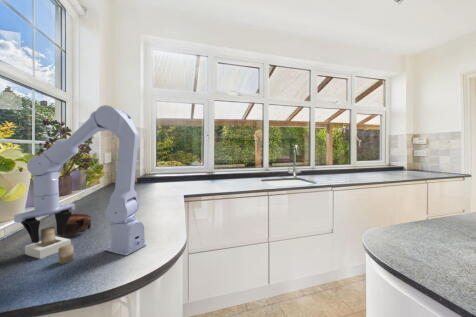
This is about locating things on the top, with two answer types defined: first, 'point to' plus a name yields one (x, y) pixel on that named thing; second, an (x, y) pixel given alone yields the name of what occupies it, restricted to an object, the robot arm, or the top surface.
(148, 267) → the top surface
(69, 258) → the short pin
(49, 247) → the collar
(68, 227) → the pottery mug
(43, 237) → the long pin
